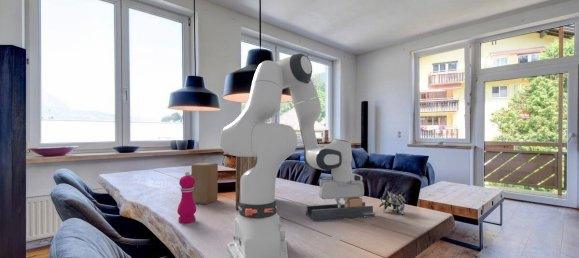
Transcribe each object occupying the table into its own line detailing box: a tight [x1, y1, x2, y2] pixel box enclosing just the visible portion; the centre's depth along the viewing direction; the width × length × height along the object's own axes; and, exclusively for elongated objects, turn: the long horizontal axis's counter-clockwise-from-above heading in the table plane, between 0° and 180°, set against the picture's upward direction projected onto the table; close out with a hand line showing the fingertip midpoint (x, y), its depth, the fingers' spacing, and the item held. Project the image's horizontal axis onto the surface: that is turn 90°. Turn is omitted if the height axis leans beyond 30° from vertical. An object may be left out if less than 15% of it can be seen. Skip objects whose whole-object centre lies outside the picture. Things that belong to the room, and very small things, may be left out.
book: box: [235, 156, 257, 211], centre depth 134 cm, size 25×9×30 cm, turn 166°
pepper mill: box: [177, 171, 197, 224], centre depth 107 cm, size 7×7×20 cm
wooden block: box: [190, 162, 219, 205], centre depth 137 cm, size 10×10×20 cm
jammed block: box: [346, 197, 363, 208], centre depth 117 cm, size 6×5×6 cm
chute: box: [305, 201, 376, 222], centre depth 115 cm, size 28×10×4 cm, turn 104°
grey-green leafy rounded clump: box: [378, 191, 407, 216], centre depth 119 cm, size 11×11×12 cm
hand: (341, 208), depth 115 cm, fingers closed
